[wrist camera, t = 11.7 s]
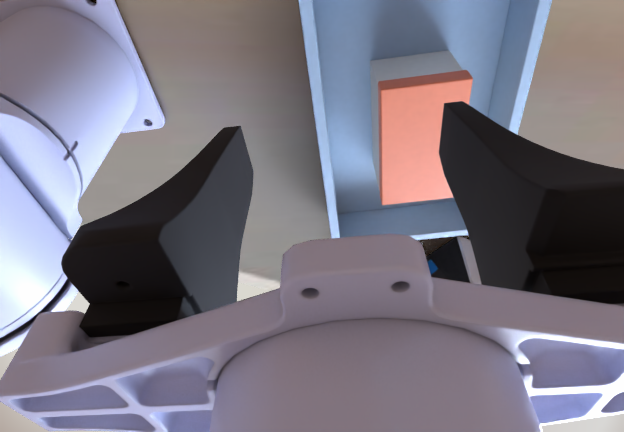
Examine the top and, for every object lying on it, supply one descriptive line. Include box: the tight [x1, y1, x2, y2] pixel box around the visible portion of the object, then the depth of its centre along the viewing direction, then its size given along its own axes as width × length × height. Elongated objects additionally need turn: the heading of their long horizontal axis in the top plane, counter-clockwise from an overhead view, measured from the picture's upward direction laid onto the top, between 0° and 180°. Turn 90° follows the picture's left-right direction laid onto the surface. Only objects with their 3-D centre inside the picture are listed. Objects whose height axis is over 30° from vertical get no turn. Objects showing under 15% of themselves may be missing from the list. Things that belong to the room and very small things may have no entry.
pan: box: [298, 0, 552, 240], centre depth 24 cm, size 11×17×4 cm, turn 7°
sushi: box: [370, 50, 473, 205], centre depth 23 cm, size 4×8×4 cm, turn 7°
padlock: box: [426, 236, 482, 285], centre depth 30 cm, size 7×4×15 cm, turn 149°
